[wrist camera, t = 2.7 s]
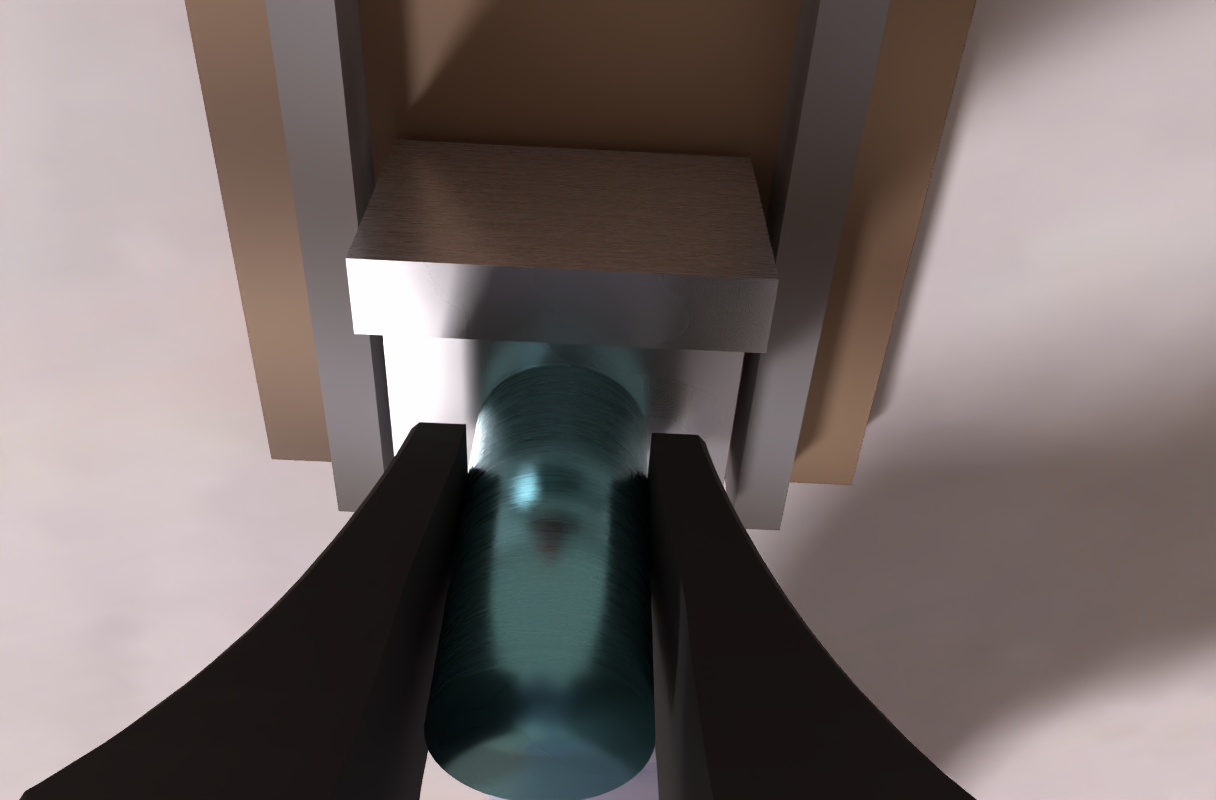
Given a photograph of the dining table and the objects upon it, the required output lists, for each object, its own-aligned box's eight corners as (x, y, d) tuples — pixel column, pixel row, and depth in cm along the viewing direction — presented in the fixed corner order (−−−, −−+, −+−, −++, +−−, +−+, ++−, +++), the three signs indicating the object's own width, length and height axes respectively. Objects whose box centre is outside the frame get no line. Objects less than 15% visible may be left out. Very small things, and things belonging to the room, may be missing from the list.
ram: (703, 486, 18) (739, 871, 12) (421, 473, 18) (333, 857, 12) (750, 157, 14) (830, 501, 9) (395, 138, 14) (254, 474, 9)
